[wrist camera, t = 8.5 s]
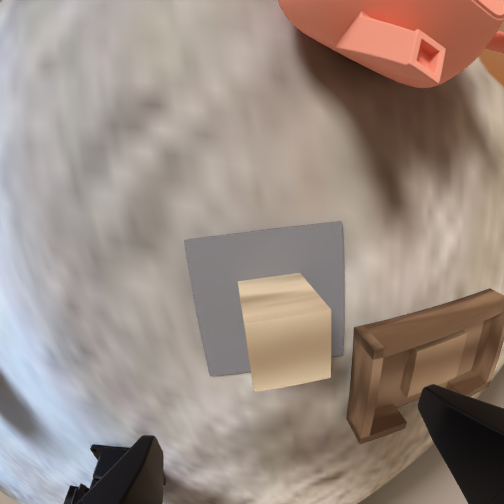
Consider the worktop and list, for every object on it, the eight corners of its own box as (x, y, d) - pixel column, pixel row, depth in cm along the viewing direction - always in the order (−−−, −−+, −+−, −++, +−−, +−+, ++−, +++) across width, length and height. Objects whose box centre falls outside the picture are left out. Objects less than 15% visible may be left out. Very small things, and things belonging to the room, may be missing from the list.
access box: (471, 370, 24) (488, 385, 21) (346, 418, 23) (359, 444, 20) (489, 288, 22) (513, 300, 18) (354, 327, 21) (374, 350, 17)
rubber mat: (341, 352, 21) (343, 354, 21) (210, 373, 20) (210, 376, 20) (339, 221, 19) (342, 222, 18) (185, 239, 18) (184, 241, 18)
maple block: (303, 327, 20) (330, 377, 14) (245, 336, 20) (254, 391, 14) (299, 272, 19) (331, 309, 13) (237, 281, 19) (244, 323, 13)
